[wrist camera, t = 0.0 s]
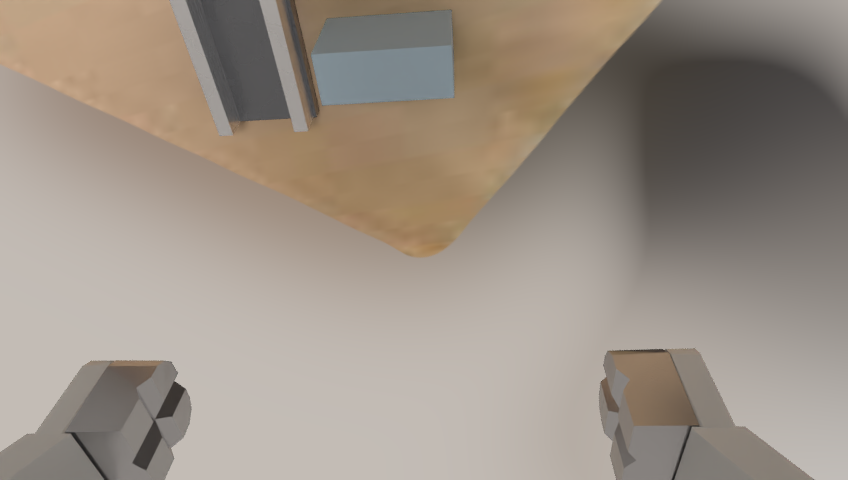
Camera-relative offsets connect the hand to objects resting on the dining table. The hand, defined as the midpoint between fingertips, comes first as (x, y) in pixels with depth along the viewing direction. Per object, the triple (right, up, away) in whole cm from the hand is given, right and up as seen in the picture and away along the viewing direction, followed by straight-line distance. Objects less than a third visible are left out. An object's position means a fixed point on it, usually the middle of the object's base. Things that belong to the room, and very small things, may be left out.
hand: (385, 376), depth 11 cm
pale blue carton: (-2, +19, +35) cm, 40 cm away
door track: (-14, +20, +35) cm, 42 cm away
